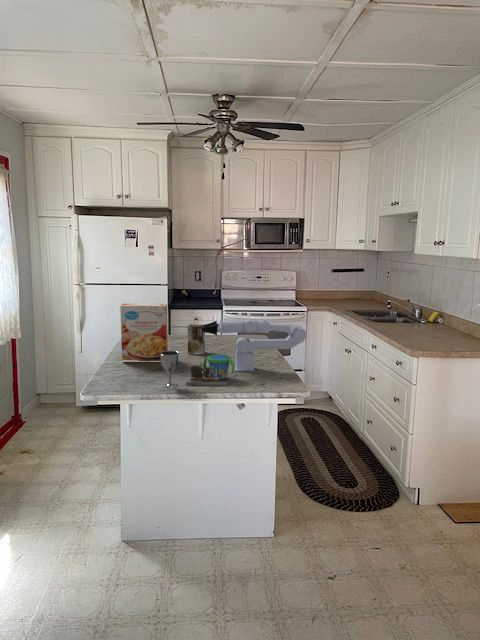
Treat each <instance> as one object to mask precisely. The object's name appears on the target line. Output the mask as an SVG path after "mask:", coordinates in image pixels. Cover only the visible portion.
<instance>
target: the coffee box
mask: <svg viewBox="0 0 480 640" xmlns="http://www.w3.org/2000/svg"><path fill="white" fill-rule="evenodd" d="M203 325H204V324H194V323H193V324H188V325H187V326H186V327H187V330H186V331H187V354H188V353H201V354H200V355H204V354H205V353H206V333H205V332H203ZM204 352H205V353H204Z"/></svg>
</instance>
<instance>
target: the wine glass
mask: <svg viewBox="0 0 480 640" xmlns="http://www.w3.org/2000/svg"><path fill="white" fill-rule="evenodd" d="M179 355H180V354H179V351H176V350H168V351H163V352H161V353H160V358H161V363H160V364H161V366H162V367H163V368H164V370H165V371H166V372H167V374H168V384H167V383H165V384H166V385H167V386H169V387H170V386H175V385H176V384H177V383H174V384H173V382H172V373H173V371H174V370H175V369H176V367H177V366H178V364H179V357H180V356H179Z"/></svg>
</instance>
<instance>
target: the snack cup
mask: <svg viewBox="0 0 480 640" xmlns="http://www.w3.org/2000/svg"><path fill="white" fill-rule="evenodd" d="M207 362H208V365H207ZM229 365H231V366H232V368H231V374H234V373H235V372H236V371H235V362H234V361H233V360H232V359H231V356H229V355H226V354H212V355H209V356H207V357H206V358H204V360H203V363H202V368H204V369H206V368H207V367H209V369H210V373H209V374H210V375H209V376H210V378H219V381H220V380H221V381H222V380H226V379H227V377H228V372H229V371H228V370H229Z"/></svg>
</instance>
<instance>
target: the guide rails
mask: <svg viewBox="0 0 480 640" xmlns="http://www.w3.org/2000/svg"><path fill="white" fill-rule="evenodd" d="M203 370H204V368H203V367H202V371H203ZM190 371H191V367H190V368H189V372H190ZM227 384H228V382H227V381H219V382H202V381H185V386H188V385H200V386H206V387H207V386H209V387H210V386H212V387H213V386H216V387H217V386H224V387H225V386H228V385H227Z"/></svg>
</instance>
